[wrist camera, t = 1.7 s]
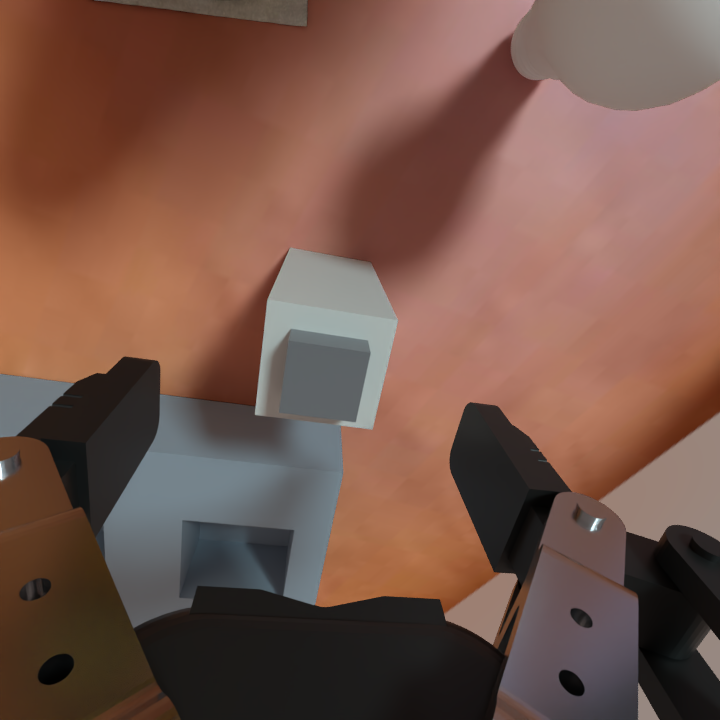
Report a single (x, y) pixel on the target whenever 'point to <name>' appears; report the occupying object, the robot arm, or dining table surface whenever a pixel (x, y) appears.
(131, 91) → the dining table surface
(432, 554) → the dining table surface
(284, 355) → the plug
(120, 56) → the dining table surface
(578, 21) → the lightbulb
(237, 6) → the condiment
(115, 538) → the socket board
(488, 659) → the robot arm
